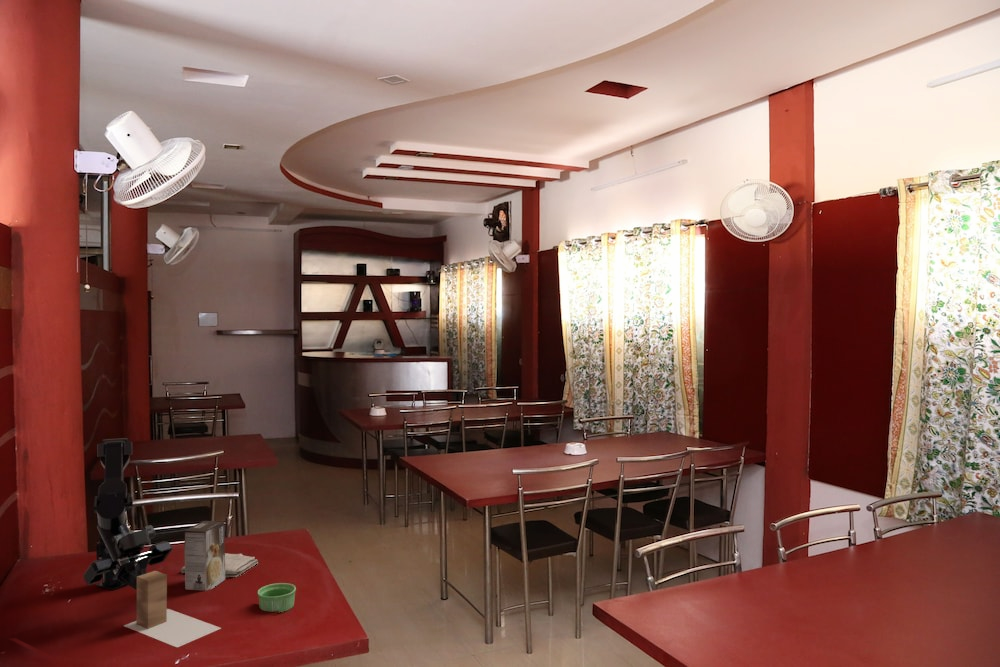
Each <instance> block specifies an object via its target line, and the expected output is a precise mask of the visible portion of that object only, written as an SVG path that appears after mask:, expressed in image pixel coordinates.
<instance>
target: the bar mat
mask: <svg viewBox="0 0 1000 667" xmlns="http://www.w3.org/2000/svg"><path fill="white" fill-rule="evenodd" d="M136 623H137V620H135V621H132V622H129V623H126V624H125V625H123V627H125V628H128V629H130V630H133V631H135V632H137V633H140V634H143V635H146V636H147V637H149V638H152V639H154V640H155V639H156V640H157V641H160V642H162V643H164V644H167V645H169V646H172V647H175V648H179V647H182V646H184V645H187V644H189V643H191V642H193V641H195V640H198V639H200V638H203V637H205V636H208V635H210V634H211V633H215V632H216V631H218V630H221V629H222V628H221V627H220V626H216V625H214V624H212V623H210V622H209V623H208V622H205V621H203V620H200V619H197V618H194V617H192V616H190V615H187V614H185V613H184V614H183V613H181V612H178V611H175V610H173V609H170V608H167V622H165V623H162V624H160V625H157V626H155V627H152V628H150V629H147V628H144V627H142V626H140V625H138V624H136Z"/></svg>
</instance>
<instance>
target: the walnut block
mask: <svg viewBox="0 0 1000 667" xmlns="http://www.w3.org/2000/svg"><path fill="white" fill-rule="evenodd" d="M167 581H168V574H165V573H164V572H160V571H158V570H152V571H150V572H146V574H143V575H140V576H137V590H136V621H137V623H136V624H138V625H140V626H142V627H144V628H147V629H150V628H152V627H155V626H157V625H160V624H162V623H165V622H167V609H168V607H167V603H168V602H167V600H168V596H167V594H168V590H167V589H168V584H167V583H168V582H167Z"/></svg>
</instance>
